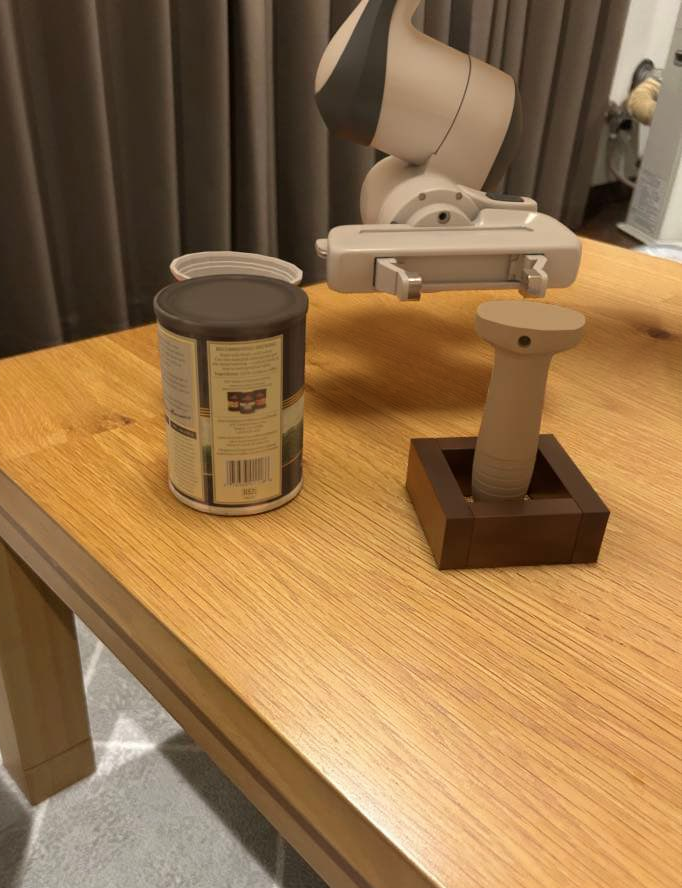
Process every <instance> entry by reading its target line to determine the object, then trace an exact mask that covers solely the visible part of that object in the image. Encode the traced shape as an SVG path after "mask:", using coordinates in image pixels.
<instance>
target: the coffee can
mask: <svg viewBox="0 0 682 888" xmlns="http://www.w3.org/2000/svg"><path fill="white" fill-rule="evenodd" d="M309 304H310V298H309V295H308V294H307V292H306V290H304V289H303V288H301V287H300V286H299V285H297V286H296V285H294V284H292V283H289V282H287V281H284V280H281V279H276V278H272V277H266V276H260V275H249V274H218V275H208V276H201V277H195V278H190V279H186V280H182V281H179V282H176V281H175V282H173V283H171V284H168V285H167V286H165V287H162V289H160V290H159V291H158V292H157V293H156V294H155V296H154V297H153V309H154V310H153V312H154V314H155V316H156V325H157V326H156V329H157V339H158V353H159V364H160V366H159V367H160V375H161V376H160V377H161V387H162V390H161V391H162V402H163V413H164V414H163V416H164V428H165V429H164V430H165V441H166V451H167V452H166V455H167V465H168V466H167V467H168V468H167V469H168V481H167V482H168V483H167V484H168V487H169V490H170V492H171V493H172V495H173V496H174V497H175V498H176V499H177V500H178V501H179V502H180V503H182V504H184V505H185V506H188V507H189V508H192V509H195V510H197V511H199V512H201V513H202V512H203V513H208V514H212V515H218V516H226V517H228V516H229V517H230V516H248V515H257V514H261V513H265V512H269V511H272V510H275V509H277V508H280V507H282V506H283V505H285V504H287V503H289V502H291V501H292V500H293V499H295V497H296V496H297V495H298V494H299V493H300V491H301V490H302V487H303V484H304V478H305V477H304V472H303V471H304V470H303V466H304V465H303V464H304V423H305V422H304V421H305V419H304V416H305V415H304V413H305V412H304V411H305V383H306V381H305V378H306V353H307V351H306V349H307V342H306V339H307V337H306V336H307V335H306V334H307V314H308V312H309V306H310V305H309Z"/></svg>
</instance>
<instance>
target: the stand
mask: <svg viewBox="0 0 682 888" xmlns="http://www.w3.org/2000/svg"><path fill="white" fill-rule="evenodd" d="M477 438H478V435H475V436H474V435H473V436H449V437H448V436H445V437H417V438H416V437H414V438H410V441H409V451H408V460H407V468H406V469H407V470H406V477H405V478H406V479H405V488H406V490H407V492H408V495H409V498H410V500H411V503H412V505H413V507H414V510H415V513H416V515H417V517H418V520H419V522H420V525H421V527H422V530H423V533H424V535H425V538H426V540H427V542H428V545H429V547H430V550H431V552H432V554H433V557H434V560H435V562H436V564H437V567H438V569H439V570H454V569H455V570H456V569H476V568H496V567H518V566H537V565H538V566H540V565H541V566H542V565H564V564H565V565H566V564H589V563H590V564H591V563H593V564H594V563H597V562H598V560H599V556H600V551H601V548H602V544H603V541H604V537H605V533H606V530H607V526H608V522H609V519H610V515H611V510H610V509H609V508H608V506H607V505H606V504H605V502H604V501H603V500H602V498H601V497H600V495H599V494H598V493H597V491H596V490H595V489H594V488H593V486H592V484H591V483H590V482H589V481H588V479H587V478H586V477H585V475H584V474H583V473H582V471H581V470H580V469H579V467H578V465H576V463H575V461H574V460H573V459H572V458H571V456H570V455H569V454H568V452H567V451H566V450H565V449H564V447H563V446H562V444H561V443H560V441H559V440H558V439H557V437H556V436H555V435H554V433H539V441H538V448H537V453H536V460H535V465H534V469H533V473H532V477H531V480H530V484H529V487H528V490H527V493H526V494H527V495H528V497H529V499H524V500H514V501H488V502H473V501H467V500H466V497H467V496H469V497H470V496H472V471H473V460H474V454H475V448H476V442H477Z"/></svg>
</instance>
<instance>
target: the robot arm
mask: <svg viewBox="0 0 682 888" xmlns="http://www.w3.org/2000/svg"><path fill="white" fill-rule="evenodd" d="M421 1H422V0H358V1H357V2H356V4H355V5H354V7H353V8H352V10H351V12H350V13H349V15H348V16H347V18H346V19H345V21H344V22H343V23H342V24H341V26H340V27H339V28H338V30H337V31H336V33H335V34H334V35H333V37H332V38H331V39H330V41H329V43H328V45H327V46H326V48H325V50H324V52H323V53H322V57H321V58H320V61H319V64H318V67H317V71H316V75H315V80H314V84H313V89H312V94H313V95H312V96H313V98H314V102H315V104H316V107H317V110H318V112H319V114H320V117H321V119H322V120H323V123H324V125H325V126H326V128H327V130H328V131H329V133H330V134H331V135H332V136H333V137H336V138H339V139H342V140H345V141H348V142H351V143H354V144H358V145H361V146H364V147H366V148H367V147H371V148H374V149H376V150H378V151H381V152H383V153H385V154H387V155H388V156H386V157H384V158H383V159H380V160H379V161H377V162H376V164H374V165H373V166H372V167H371V169H370V170H369V171H368V173H367V174H366V176H365V178H364V180H363V183H362V186H361V190H360V196H359V211H360V217H361V221H362V224H344V225H337V226H335V227H333V228H331V229H330V231H329V232H328V235H327V238H318V239H316V241H315V243H314V249H315V253H316V255H317V256H318V257H319V258H322V259H325V260H326V261H325V263H326V265H325V280H326V281H325V282H326V285H327V287H328V289H329V290H330V291H333V292H335V293H338V294H346V295H347V294H351V295H352V294H381V293H382V294H383V293H384V294H388V295H390V296H396V298H397V299H398V301H399V302H400V303H402V302H403V303H405V302H406V303H407V302H419V301H421V298H422V297H421V295H422V294H437V293H442V292H464V291H465V292H466V291H467V292H468V291H469V292H470V291H506V290H507V291H509V290H518V294H519V295H520V296H522V298H523V299H544V298H545V297H546V294H547V290H549V289H550V290H551V289H568V288H570V287H571V286H572V285H573V284H575V282H576V280H577V278H578V274H579V270H580V265H581V260H582V254H583V253H582V252H583V243H582V240H581V239H580V238H579V237H578V235H576V234H575V232H573V231H572V230H571V229H569V227H567V226H566V225H564V224H563V223H562V222H560V221H559V220H558V219H556V218H554V217H552V216H551V215H548V214H545V213H542V212H538V203H537V201H536V200H534V199H533V198H530V197H526V196H518V195H512V194H511V195H510V194H502V193H501V194H500V193H494V190H495V189H496V188H497V187H498V185H499V184H500V182H501V180H502V179H503V178H504V176H505V175H506V173H507V171H508V170H509V168H510V166H511V164H512V162H513V159H514V157H515V154H516V153H517V150H518V147H519V144H520V142H521V139H522V134H523V126H524V125H523V123H524V122H523V106H522V98H521V93H520V89H519V86H518V83H517V81H516V80H515V77H514V76H513V75H511V74H508V73H506V72H504V71H502V70H500V69H499V68H497V67H495V66H493V65H491V64H490V63H487V62H485V61H483V60H481V59H479V58H476V57H475V56H473V55H471V54H467V53H464V52H462V51H460V50H458V49H456V48H454V47H451V46H449V45H448V44H445V43H443V42H441V41H439V40H437V39H435V38H433V37H431V36H429V35H427V34H425V33H424V32H421V31H419V30H418V29H417V28H416V27H415V26H414V25H413V24H412V18H413V15H414V13H415V12H416V11H417V8H418V6H419V5H420V4H421Z"/></svg>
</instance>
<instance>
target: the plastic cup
mask: <svg viewBox="0 0 682 888" xmlns="http://www.w3.org/2000/svg"><path fill="white" fill-rule="evenodd" d="M169 269H170V272H171V274H172V275H173V276H174V278H175V283H176V282H179V281H182V280H186V279H190V278H195V277H201V276H208V275H218V274H249V275H260V276H266V277H272V278H276V279H281V280H284V281H287V282H289V283H292V284H294V285H296V286H299V285H300V284H301V282H302V279H303V270H302V269H300V268H299V267H297V266H296V265H295V264H293V263H291V262H288V261H286V260H282V259H280V258H277V257H272V256H267V255H263V254H259V253H252V252H251V253H250V252H239V251H230V250H229V251H228V250H227V251H226V250H225V251H201V252H194V253H193V252H192V253H186V254H184V255H181V256H179V257H176V258H173V260H172V262H171V263H170V265H169Z"/></svg>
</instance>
